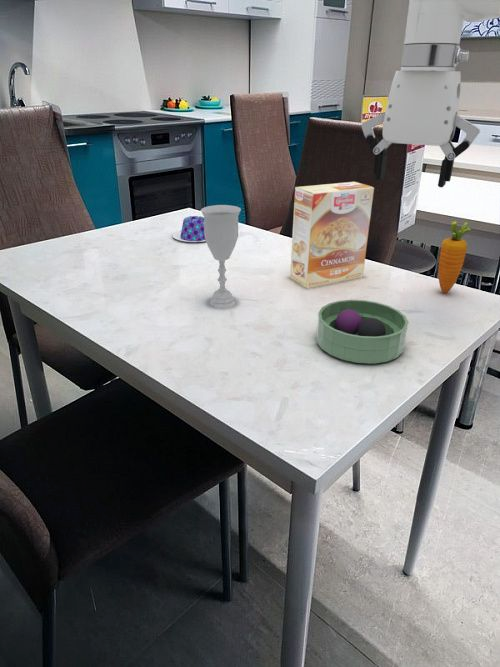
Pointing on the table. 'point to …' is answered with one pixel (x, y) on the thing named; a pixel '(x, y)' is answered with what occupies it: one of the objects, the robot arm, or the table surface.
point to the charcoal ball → (371, 328)
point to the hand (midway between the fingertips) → (409, 182)
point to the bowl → (362, 346)
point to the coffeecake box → (330, 232)
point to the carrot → (452, 257)
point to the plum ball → (348, 321)
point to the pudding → (191, 230)
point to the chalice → (221, 244)
